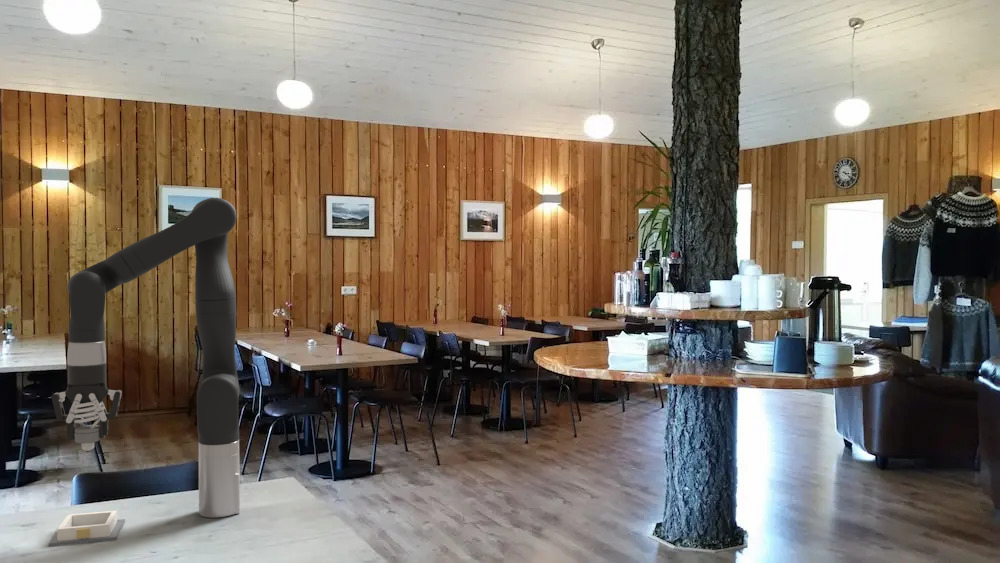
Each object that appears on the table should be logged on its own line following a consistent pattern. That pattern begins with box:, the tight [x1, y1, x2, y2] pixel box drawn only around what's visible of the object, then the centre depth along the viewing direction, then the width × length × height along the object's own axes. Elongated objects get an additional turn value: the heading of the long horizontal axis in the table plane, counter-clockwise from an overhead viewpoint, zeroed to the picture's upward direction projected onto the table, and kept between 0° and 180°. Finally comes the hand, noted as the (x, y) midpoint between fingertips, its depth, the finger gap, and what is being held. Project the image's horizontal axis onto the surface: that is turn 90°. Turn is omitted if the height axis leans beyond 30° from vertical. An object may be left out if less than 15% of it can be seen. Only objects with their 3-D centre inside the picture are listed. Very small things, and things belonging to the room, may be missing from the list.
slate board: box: [47, 518, 126, 547], centre depth 170 cm, size 13×12×1 cm
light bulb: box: [74, 402, 102, 453], centre depth 170 cm, size 6×6×12 cm
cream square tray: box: [56, 510, 118, 541], centre depth 170 cm, size 10×10×2 cm
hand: (87, 438), depth 170 cm, fingers closed on light bulb, 5 cm apart
